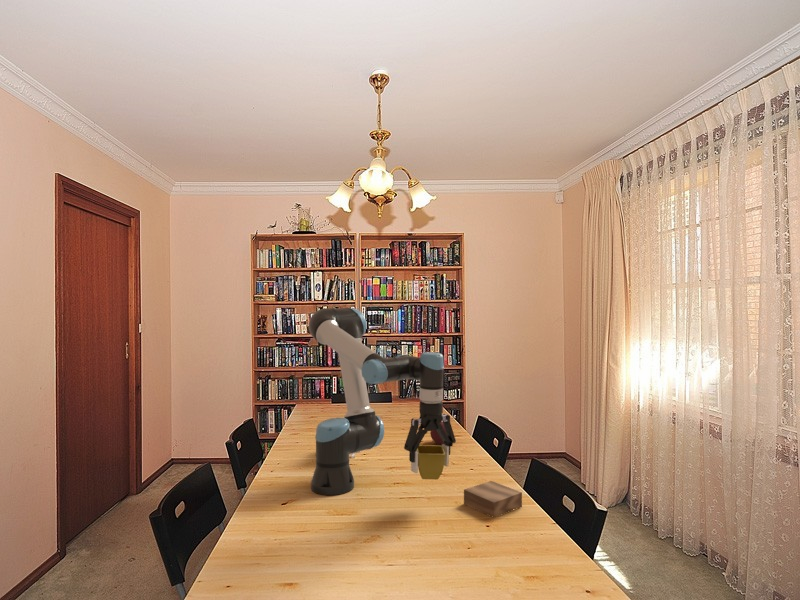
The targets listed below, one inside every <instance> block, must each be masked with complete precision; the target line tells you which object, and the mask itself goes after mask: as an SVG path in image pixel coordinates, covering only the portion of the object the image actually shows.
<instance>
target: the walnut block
mask: <svg viewBox="0 0 800 600" xmlns="http://www.w3.org/2000/svg"><path fill="white" fill-rule="evenodd" d="M463 505H465V506H467V507H469V508H472V509H473V510H475V511H478V512H480V511H481V513H483V514H485V515H487V514H488V515H487V516H489V515H490V517H491V516H493V517H492V518H494V517H495V518H497V517H499V515H500V516H502V515H501V514H503V515H504V513H505V514H507V513H506V512H508V511H510V512H512V511H511V510H513V509H516V508H518V509H520V508H519V507H521V508H523V492H521V491H519V490H516V489H514V488H511V487H508V486H505V485H503V484H500V483H498V482H495V481H493V480H489V481H487V482H484V483H480V484H477V485H474V486H471V487H469V488H464V489H463ZM516 510H517V509H516ZM513 511H514V510H513ZM508 513H509V512H508ZM496 516H497V517H496Z"/></svg>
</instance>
